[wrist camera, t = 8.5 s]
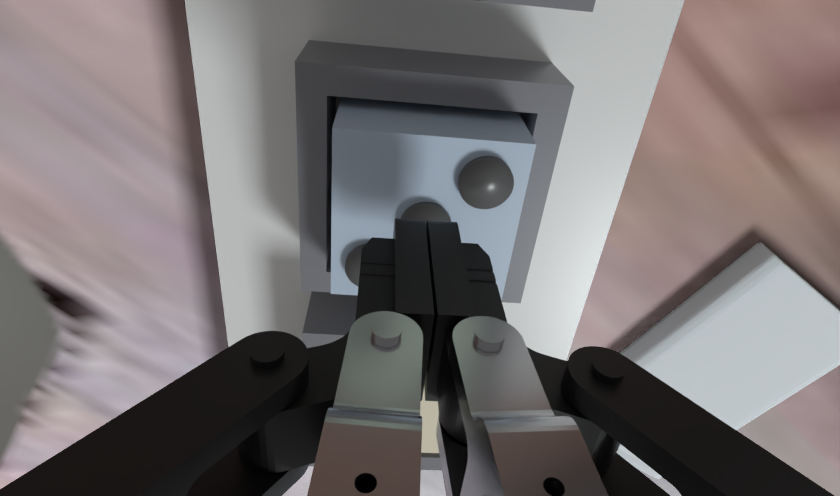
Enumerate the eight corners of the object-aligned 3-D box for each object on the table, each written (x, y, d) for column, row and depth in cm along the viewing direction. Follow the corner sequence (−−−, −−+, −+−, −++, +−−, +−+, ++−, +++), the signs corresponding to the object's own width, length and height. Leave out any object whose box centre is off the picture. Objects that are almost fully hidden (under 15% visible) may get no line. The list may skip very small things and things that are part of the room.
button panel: (764, -371, 13) (917, -487, 9) (531, 405, 27) (553, 486, 23) (158, -470, 12) (43, -646, 8) (248, 393, 26) (223, 476, 22)
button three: (517, 111, 15) (537, 147, 13) (488, 257, 18) (502, 308, 16) (341, 96, 15) (331, 130, 13) (339, 247, 18) (330, 298, 15)
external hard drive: (854, 321, 26) (650, 458, 31) (753, 234, 23) (547, 401, 28) (880, 344, 24) (662, 484, 29) (776, 256, 21) (554, 427, 26)
